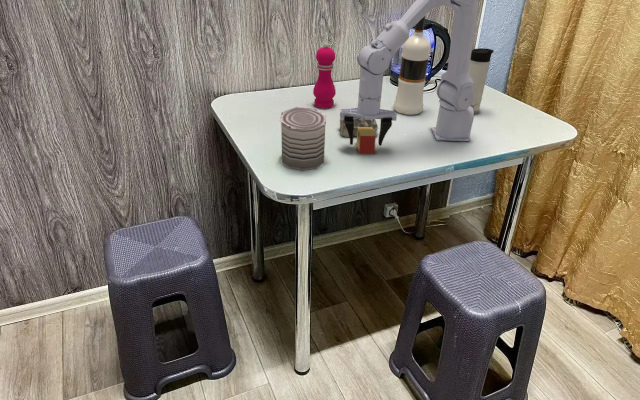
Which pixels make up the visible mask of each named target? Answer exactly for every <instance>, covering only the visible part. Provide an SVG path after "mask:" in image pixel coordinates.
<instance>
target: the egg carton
mask: <svg viewBox="0 0 640 400" xmlns="http://www.w3.org/2000/svg"><path fill="white" fill-rule="evenodd" d="M338 121H339V131H340V136H343V137H345V138H350V137H349V133H348V130H347V128H346V126H345V123H344V119H340V118H339V120H338ZM358 127H372V128H373V130H374V133H375V136H376V135H377V132H378V129H379V126H378V123H377V119H373V120H366V119H362V118H354V129H353V137H354V136H355V137H357V131H358Z"/></svg>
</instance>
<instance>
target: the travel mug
mask: <svg viewBox="0 0 640 400" xmlns="http://www.w3.org/2000/svg"><path fill="white" fill-rule="evenodd" d="M494 51H495V50H494V49H491V48H486V47H485V48H474V49H473V48H472V52H471V58H470V65H469V72H468V73H469V75H470V77H471V78H472V80H473V82H474V87H473V89H474V93H475V98H474V101H473V103H472V104H471V107H472V108H473V111H474V115H477V114H479V112H480V108H481V104H482V100H483V99H482V98H483V94H484V91H485V85H486V82H487V77H488V73H489V68H490V63H491V58H492V54H494Z"/></svg>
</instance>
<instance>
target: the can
mask: <svg viewBox="0 0 640 400" xmlns="http://www.w3.org/2000/svg"><path fill="white" fill-rule="evenodd" d="M279 122H280V125H281V126H280V128H281V129H280V131H281V135H280V136H281V163H282V164H283V165H284V166H286V167H287V168H288V169H292V170H298V171H309V170H316V169H318V168H320V167H321V166H322V165H324V164H325V147H326V145H325V144H326V125H327V115H326V114H325V113H322V112H321V111H319V110H317V109H316V108H312V107H311V108H310V107H298V106H296V107H293V108H290V109H287V110H284V111H281V114H280V118H279Z"/></svg>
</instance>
